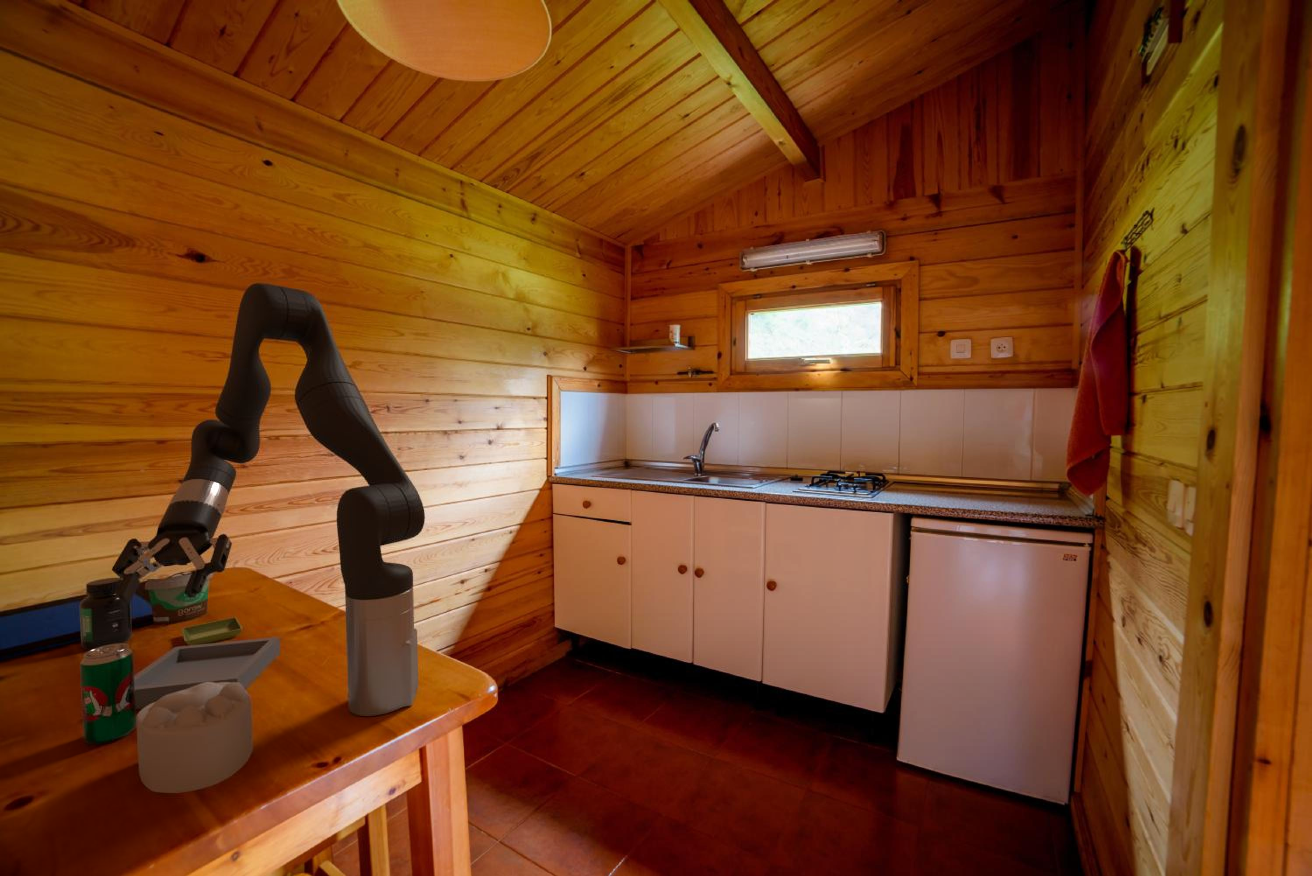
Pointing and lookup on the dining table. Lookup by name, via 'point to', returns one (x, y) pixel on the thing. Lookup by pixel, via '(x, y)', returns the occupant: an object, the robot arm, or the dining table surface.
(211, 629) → the green square dish
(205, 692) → the lumpy-topped squat cylinder
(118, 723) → the soda can
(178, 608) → the food container
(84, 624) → the supplement bottle
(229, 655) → the tray
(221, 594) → the dining table surface
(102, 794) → the dining table surface
